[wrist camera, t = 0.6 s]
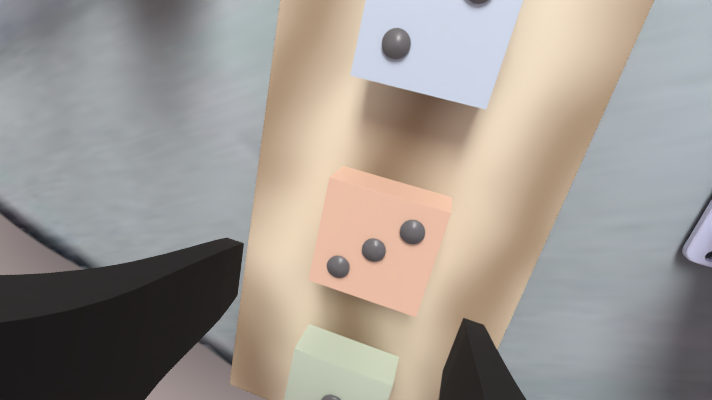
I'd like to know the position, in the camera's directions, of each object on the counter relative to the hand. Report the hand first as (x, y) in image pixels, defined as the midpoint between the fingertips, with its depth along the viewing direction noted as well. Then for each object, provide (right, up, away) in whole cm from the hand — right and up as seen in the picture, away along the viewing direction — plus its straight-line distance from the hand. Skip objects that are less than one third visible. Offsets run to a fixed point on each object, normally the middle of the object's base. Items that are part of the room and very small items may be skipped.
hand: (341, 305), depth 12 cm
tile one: (0, -6, +9) cm, 11 cm away
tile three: (+2, +2, +6) cm, 7 cm away
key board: (+2, +3, +9) cm, 9 cm away
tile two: (+4, +10, +3) cm, 11 cm away
